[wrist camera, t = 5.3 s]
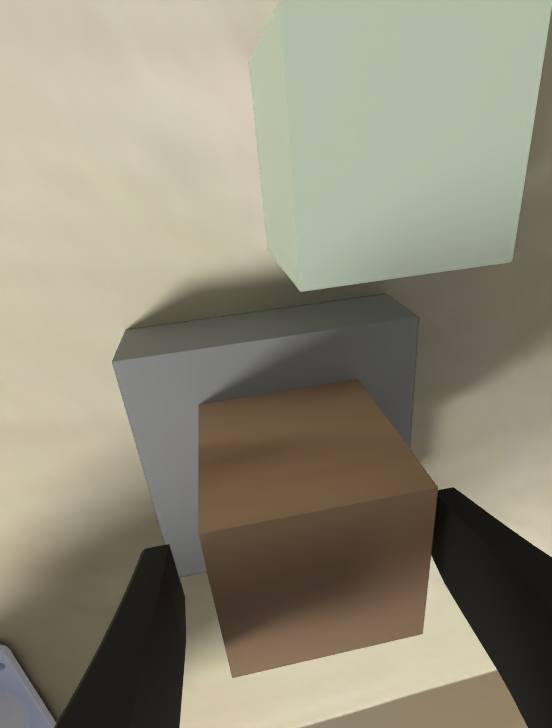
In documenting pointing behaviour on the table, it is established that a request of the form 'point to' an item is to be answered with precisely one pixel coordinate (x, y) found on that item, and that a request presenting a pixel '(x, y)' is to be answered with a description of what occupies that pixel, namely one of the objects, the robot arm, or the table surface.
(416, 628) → the walnut cube
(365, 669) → the table surface
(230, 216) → the table surface
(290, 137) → the sage green cube
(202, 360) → the charcoal base block
